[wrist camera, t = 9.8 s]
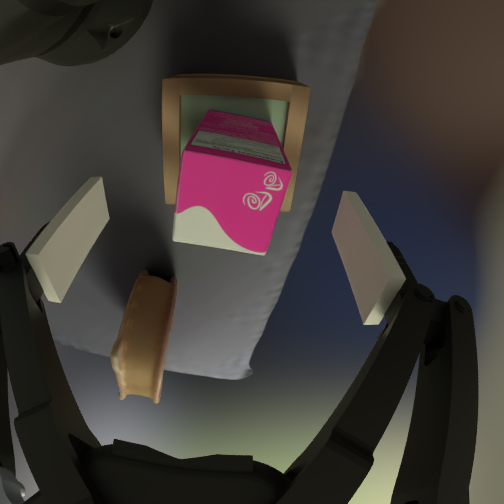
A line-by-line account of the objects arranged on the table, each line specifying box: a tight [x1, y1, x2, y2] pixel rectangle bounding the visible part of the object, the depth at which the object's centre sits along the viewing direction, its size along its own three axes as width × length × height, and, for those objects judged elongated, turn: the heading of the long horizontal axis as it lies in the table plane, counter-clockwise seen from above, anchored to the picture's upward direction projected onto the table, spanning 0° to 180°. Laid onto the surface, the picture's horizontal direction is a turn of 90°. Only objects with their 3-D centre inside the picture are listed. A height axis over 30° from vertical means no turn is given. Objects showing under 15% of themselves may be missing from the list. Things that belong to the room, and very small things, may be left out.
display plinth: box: [162, 74, 311, 212], centre depth 26 cm, size 12×12×7 cm
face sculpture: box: [110, 269, 177, 403], centre depth 39 cm, size 20×7×17 cm, turn 164°
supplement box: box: [172, 110, 293, 255], centre depth 19 cm, size 6×6×12 cm
